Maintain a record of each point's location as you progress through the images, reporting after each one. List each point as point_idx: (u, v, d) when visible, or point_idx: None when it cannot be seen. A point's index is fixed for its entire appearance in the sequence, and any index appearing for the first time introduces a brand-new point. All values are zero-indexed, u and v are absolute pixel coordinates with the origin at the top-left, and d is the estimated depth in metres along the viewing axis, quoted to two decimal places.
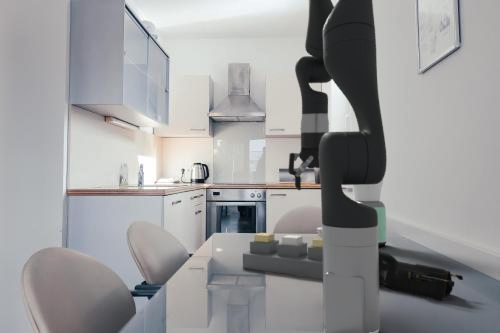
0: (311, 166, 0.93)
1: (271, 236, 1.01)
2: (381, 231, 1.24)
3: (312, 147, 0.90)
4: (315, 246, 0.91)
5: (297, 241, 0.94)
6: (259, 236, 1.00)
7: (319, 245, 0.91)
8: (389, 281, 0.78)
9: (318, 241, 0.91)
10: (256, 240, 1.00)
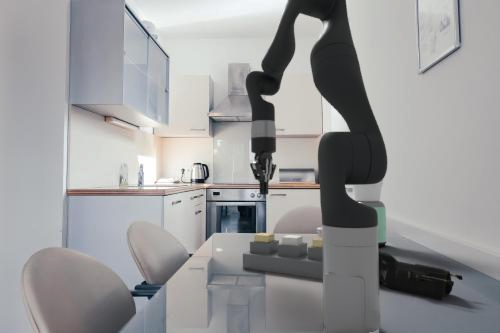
0: None
1: (271, 236, 1.01)
2: (381, 231, 1.24)
3: (272, 150, 1.00)
4: (315, 246, 0.91)
5: (297, 241, 0.94)
6: (259, 236, 1.00)
7: (319, 245, 0.91)
8: (389, 281, 0.78)
9: (318, 241, 0.91)
10: (256, 240, 1.00)
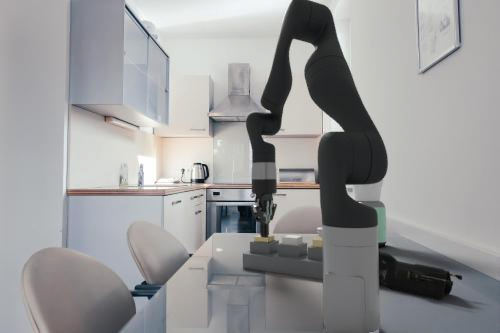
0: None
1: (271, 237, 1.01)
2: (381, 231, 1.24)
3: (272, 192, 0.99)
4: (315, 246, 0.91)
5: (297, 241, 0.94)
6: (259, 238, 1.00)
7: (319, 245, 0.91)
8: (388, 281, 0.78)
9: (318, 241, 0.91)
10: None
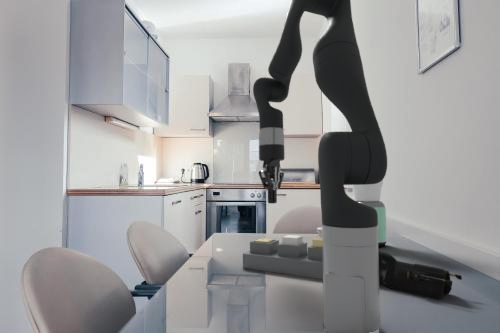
0: None
1: (271, 241, 1.00)
2: (381, 231, 1.24)
3: (280, 158, 0.98)
4: (315, 246, 0.91)
5: (297, 241, 0.94)
6: None
7: (319, 245, 0.91)
8: (388, 280, 0.78)
9: (318, 241, 0.91)
10: None
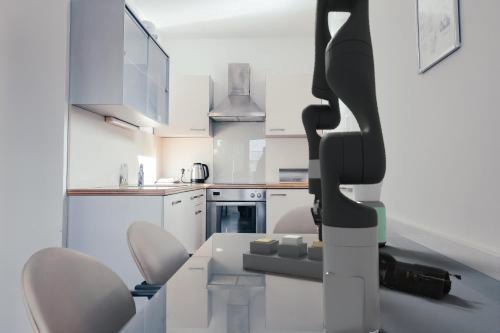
0: None
1: (271, 241, 1.00)
2: (381, 231, 1.24)
3: None
4: None
5: (297, 241, 0.94)
6: None
7: (319, 246, 0.90)
8: (388, 280, 0.78)
9: (318, 243, 0.91)
10: None
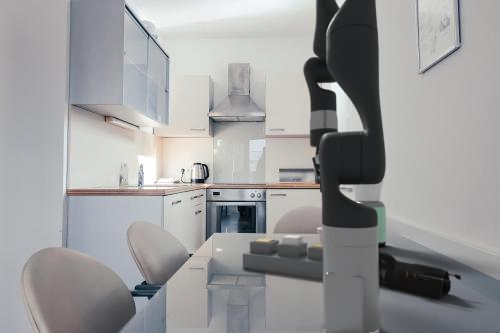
0: None
1: (271, 241, 1.00)
2: (381, 231, 1.24)
3: None
4: None
5: (297, 241, 0.94)
6: None
7: None
8: (387, 280, 0.78)
9: (318, 247, 0.91)
10: None
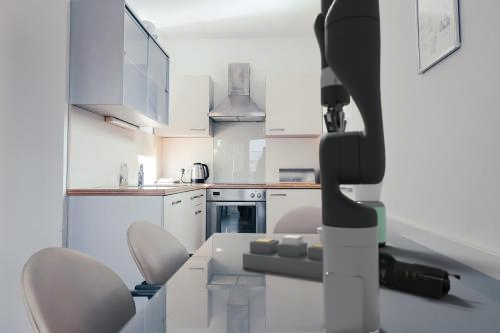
0: (338, 122, 0.87)
1: (271, 241, 1.00)
2: (381, 231, 1.24)
3: (347, 100, 0.86)
4: None
5: (297, 241, 0.94)
6: None
7: None
8: (387, 280, 0.79)
9: (318, 247, 0.91)
10: None
